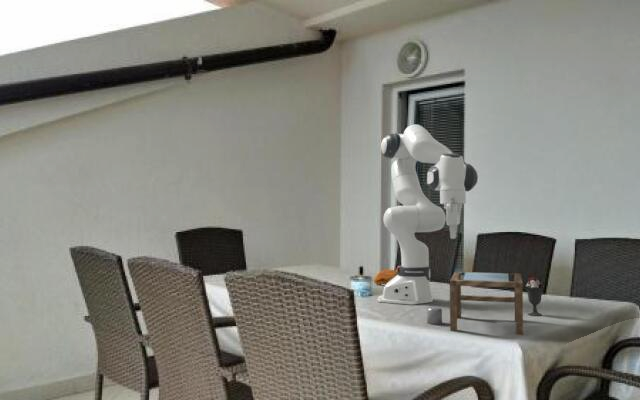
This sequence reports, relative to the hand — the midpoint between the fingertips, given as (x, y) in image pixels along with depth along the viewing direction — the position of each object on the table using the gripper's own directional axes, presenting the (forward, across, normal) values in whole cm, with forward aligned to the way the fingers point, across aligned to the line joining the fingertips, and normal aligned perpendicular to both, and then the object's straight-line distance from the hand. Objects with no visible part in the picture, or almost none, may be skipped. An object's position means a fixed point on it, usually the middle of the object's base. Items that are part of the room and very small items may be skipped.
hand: (453, 238), depth 209 cm
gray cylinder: (+28, -10, +7) cm, 31 cm away
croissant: (+26, +74, +35) cm, 86 cm away
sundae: (+28, +11, -27) cm, 41 cm away
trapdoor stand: (+28, -9, -10) cm, 32 cm away
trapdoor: (+15, -9, -11) cm, 20 cm away
